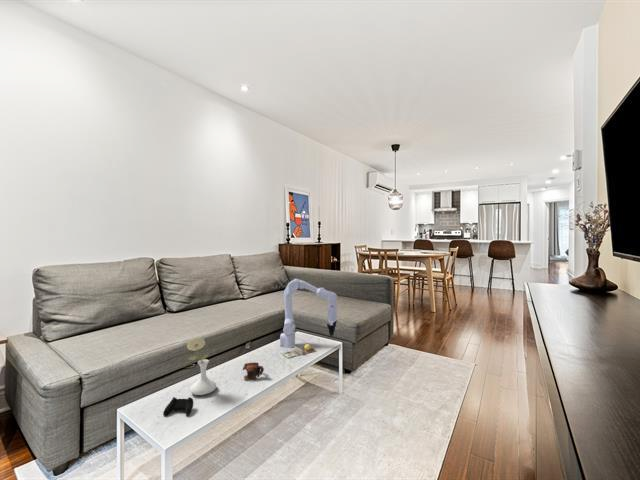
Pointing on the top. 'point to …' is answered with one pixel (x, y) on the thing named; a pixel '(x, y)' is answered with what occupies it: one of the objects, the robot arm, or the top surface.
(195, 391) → the flower in vase
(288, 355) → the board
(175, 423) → the top surface
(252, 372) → the pottery mug
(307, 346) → the ball
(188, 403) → the gaming controller
